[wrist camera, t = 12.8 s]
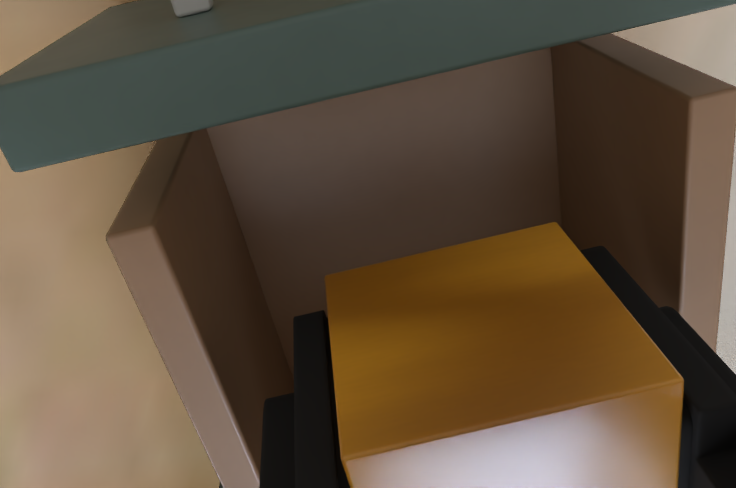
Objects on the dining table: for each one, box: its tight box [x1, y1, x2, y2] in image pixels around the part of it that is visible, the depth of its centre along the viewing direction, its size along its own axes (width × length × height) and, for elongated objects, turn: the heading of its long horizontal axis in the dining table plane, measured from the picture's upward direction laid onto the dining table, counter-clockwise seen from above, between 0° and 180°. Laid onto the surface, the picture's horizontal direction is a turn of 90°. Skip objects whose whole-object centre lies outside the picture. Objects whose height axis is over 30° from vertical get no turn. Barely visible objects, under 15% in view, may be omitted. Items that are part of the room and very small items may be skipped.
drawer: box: [0, 0, 736, 488], centre depth 14 cm, size 18×11×7 cm, turn 12°
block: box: [324, 222, 684, 488], centre depth 10 cm, size 4×4×4 cm
